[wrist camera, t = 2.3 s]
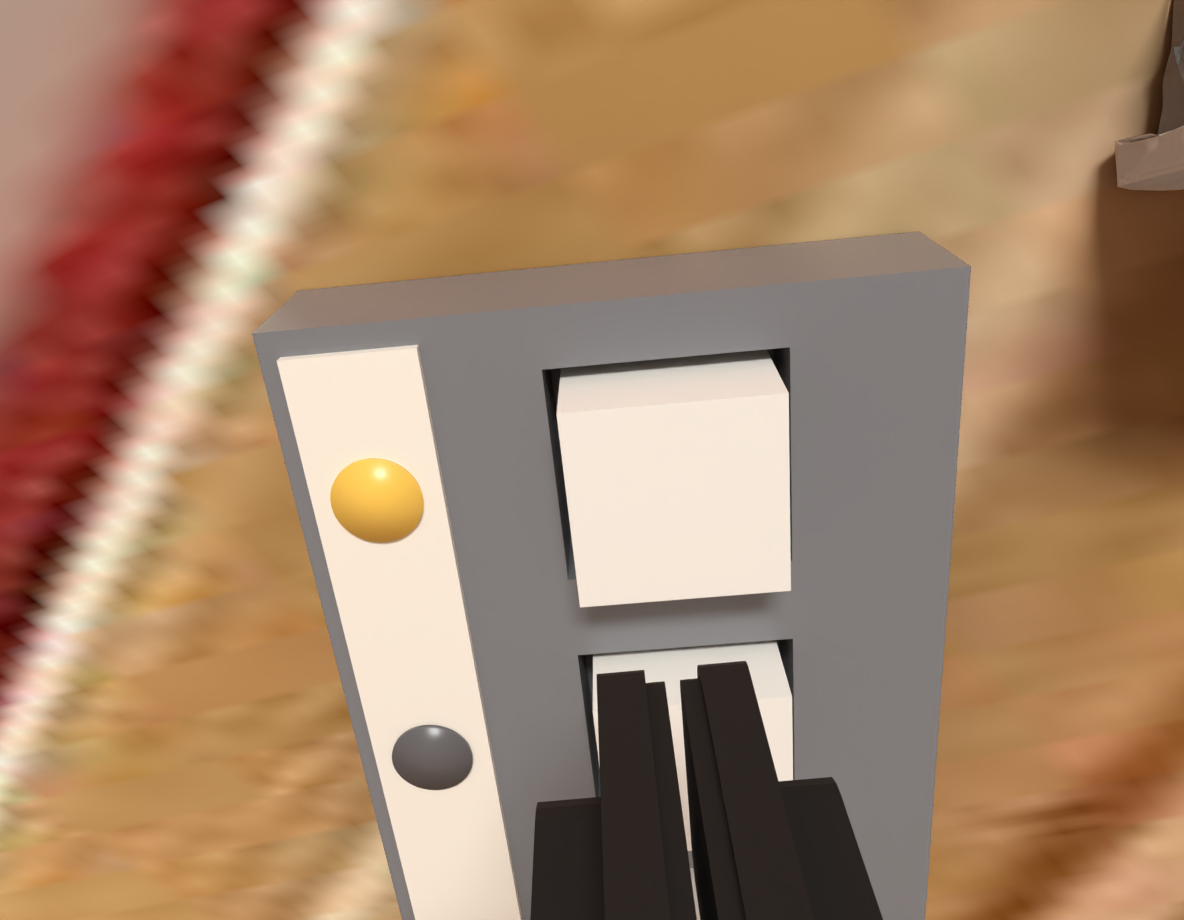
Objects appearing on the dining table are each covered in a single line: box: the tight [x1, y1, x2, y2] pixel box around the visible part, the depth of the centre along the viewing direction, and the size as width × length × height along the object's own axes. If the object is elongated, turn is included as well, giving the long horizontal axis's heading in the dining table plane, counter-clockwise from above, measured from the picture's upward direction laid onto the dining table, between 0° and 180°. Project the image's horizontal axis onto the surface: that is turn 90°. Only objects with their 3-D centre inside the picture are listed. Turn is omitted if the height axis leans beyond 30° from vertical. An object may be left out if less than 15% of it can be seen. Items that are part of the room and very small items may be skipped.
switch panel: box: [252, 232, 971, 920], centre depth 23 cm, size 13×20×3 cm, turn 6°
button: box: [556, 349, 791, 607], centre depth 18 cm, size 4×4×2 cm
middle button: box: [593, 640, 793, 851], centre depth 21 cm, size 4×4×2 cm
